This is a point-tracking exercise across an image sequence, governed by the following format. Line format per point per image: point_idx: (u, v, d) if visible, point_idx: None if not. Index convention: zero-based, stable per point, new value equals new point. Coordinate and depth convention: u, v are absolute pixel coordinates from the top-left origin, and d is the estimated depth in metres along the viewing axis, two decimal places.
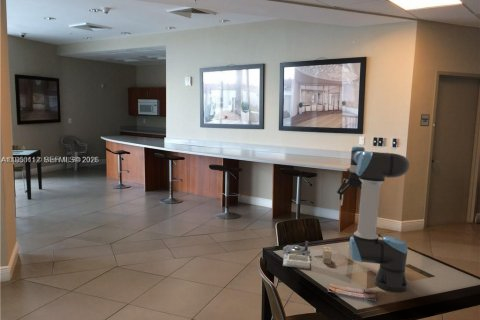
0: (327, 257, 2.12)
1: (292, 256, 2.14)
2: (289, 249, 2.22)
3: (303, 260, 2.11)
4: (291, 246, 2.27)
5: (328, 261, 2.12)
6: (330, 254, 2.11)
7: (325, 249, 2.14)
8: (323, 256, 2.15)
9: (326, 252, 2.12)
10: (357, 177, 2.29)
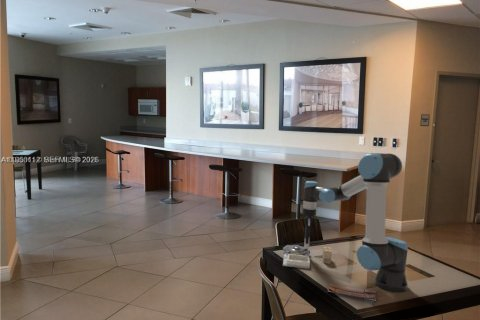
0: (327, 257, 2.12)
1: (292, 256, 2.14)
2: (290, 249, 2.22)
3: (303, 260, 2.11)
4: (291, 246, 2.27)
5: (328, 261, 2.12)
6: (330, 254, 2.11)
7: (325, 249, 2.14)
8: (323, 256, 2.15)
9: (326, 252, 2.12)
10: None
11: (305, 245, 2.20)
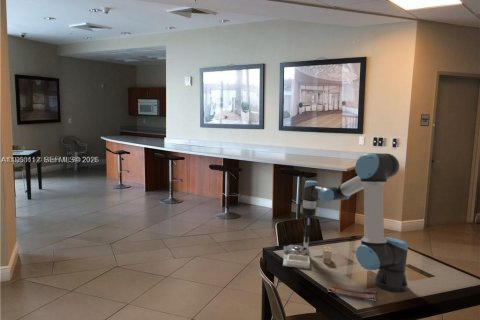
0: (327, 257, 2.12)
1: (292, 256, 2.14)
2: (292, 250, 2.20)
3: (303, 260, 2.11)
4: (289, 247, 2.26)
5: (328, 261, 2.12)
6: (330, 254, 2.11)
7: (325, 249, 2.14)
8: (323, 256, 2.15)
9: (326, 252, 2.12)
10: (302, 211, 2.21)
11: (304, 244, 2.22)
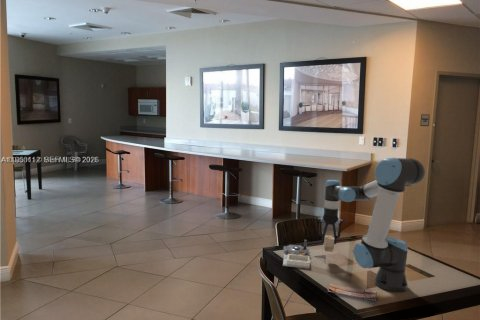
0: (329, 245, 2.11)
1: (292, 256, 2.14)
2: (292, 250, 2.20)
3: (303, 260, 2.11)
4: (289, 247, 2.26)
5: (330, 249, 2.11)
6: (332, 242, 2.10)
7: (327, 237, 2.13)
8: (325, 244, 2.14)
9: (327, 240, 2.11)
10: (332, 214, 2.09)
11: (333, 246, 2.13)
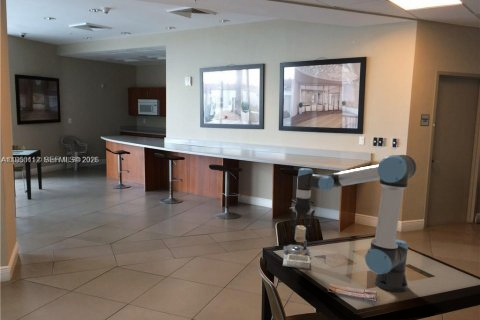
0: (300, 235, 2.04)
1: (292, 256, 2.14)
2: (292, 250, 2.20)
3: (303, 260, 2.11)
4: (289, 247, 2.26)
5: (301, 240, 2.04)
6: (303, 232, 2.04)
7: (298, 227, 2.06)
8: None
9: (298, 230, 2.04)
10: (304, 203, 2.02)
11: None
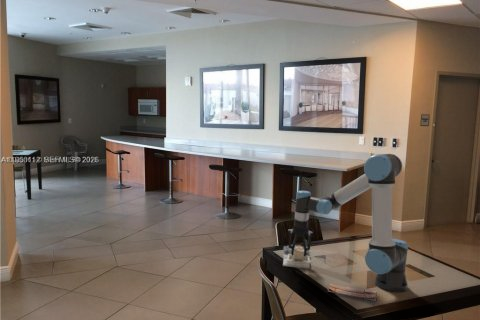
0: (298, 257, 2.05)
1: (292, 256, 2.14)
2: None
3: (303, 260, 2.11)
4: None
5: None
6: (301, 254, 2.05)
7: (296, 249, 2.08)
8: None
9: (297, 252, 2.05)
10: (302, 226, 2.03)
11: None
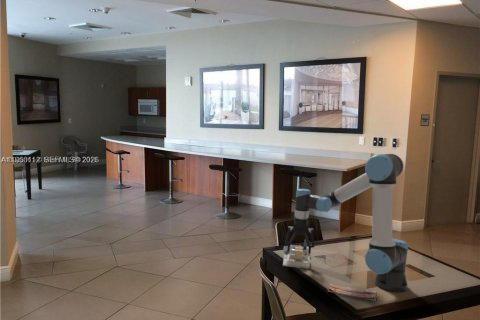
0: (298, 257, 2.05)
1: (292, 256, 2.14)
2: (292, 250, 2.20)
3: (303, 260, 2.11)
4: None
5: None
6: (301, 254, 2.05)
7: (296, 249, 2.08)
8: None
9: (297, 252, 2.05)
10: (302, 224, 2.03)
11: None
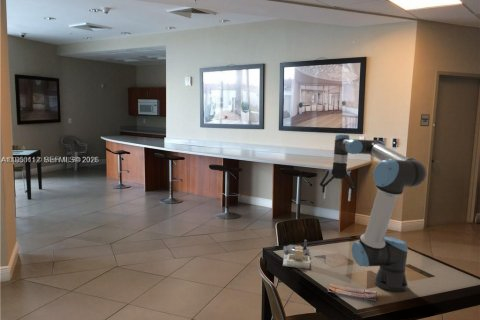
0: (298, 257, 2.05)
1: (292, 256, 2.14)
2: (292, 250, 2.20)
3: (303, 260, 2.11)
4: (289, 247, 2.26)
5: None
6: (301, 254, 2.05)
7: (296, 249, 2.08)
8: None
9: (297, 252, 2.05)
10: (341, 168, 2.10)
11: (350, 197, 2.14)
